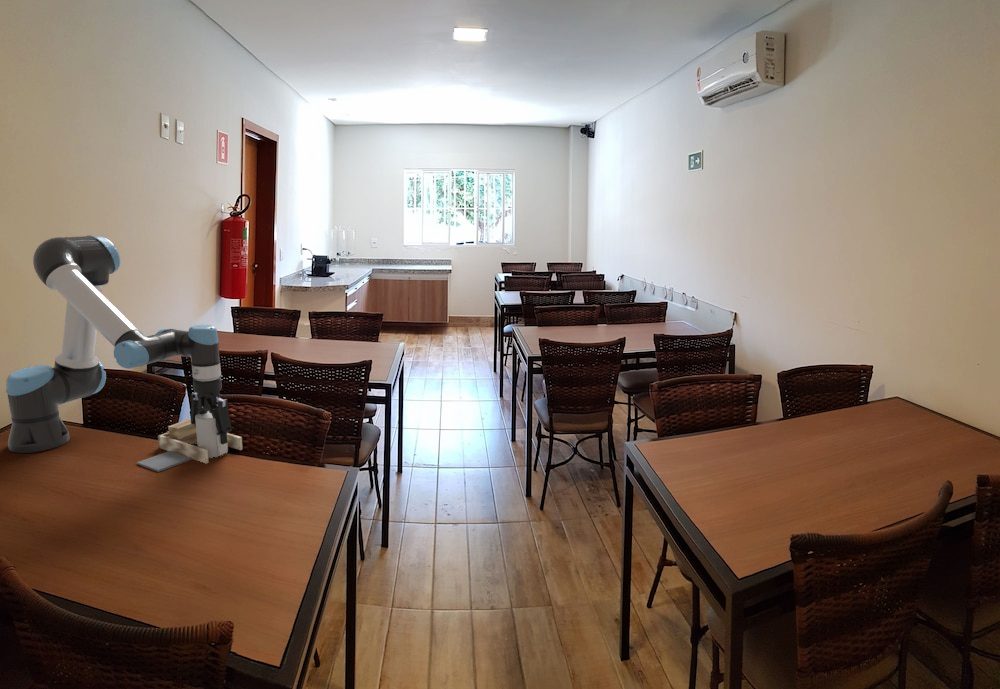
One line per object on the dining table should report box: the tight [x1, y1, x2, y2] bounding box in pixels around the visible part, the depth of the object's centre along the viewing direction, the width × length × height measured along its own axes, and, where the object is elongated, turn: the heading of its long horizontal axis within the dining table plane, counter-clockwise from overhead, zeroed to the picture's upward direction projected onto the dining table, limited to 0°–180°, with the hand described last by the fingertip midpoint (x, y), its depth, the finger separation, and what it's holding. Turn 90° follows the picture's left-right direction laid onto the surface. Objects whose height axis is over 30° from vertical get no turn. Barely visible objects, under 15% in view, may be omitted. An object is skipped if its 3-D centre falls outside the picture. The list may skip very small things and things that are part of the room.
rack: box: [157, 431, 243, 464], centre depth 189 cm, size 22×13×4 cm, turn 62°
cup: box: [195, 410, 229, 459], centre depth 186 cm, size 8×8×12 cm
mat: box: [136, 451, 192, 473], centre depth 179 cm, size 10×10×1 cm
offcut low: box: [169, 433, 197, 445], centre depth 193 cm, size 4×9×4 cm, turn 151°
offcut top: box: [167, 418, 196, 439], centre depth 192 cm, size 4×7×4 cm, turn 159°
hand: (213, 450), depth 187 cm, fingers closed on cup, 8 cm apart
